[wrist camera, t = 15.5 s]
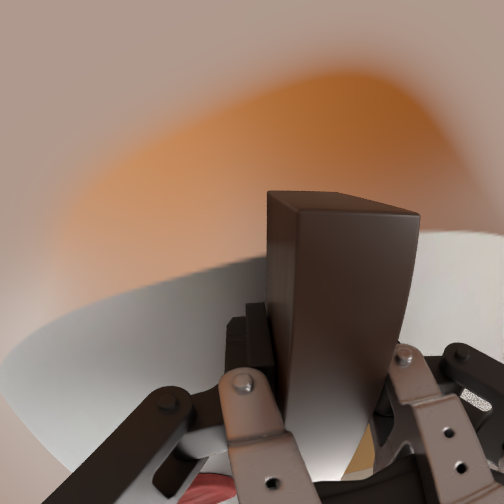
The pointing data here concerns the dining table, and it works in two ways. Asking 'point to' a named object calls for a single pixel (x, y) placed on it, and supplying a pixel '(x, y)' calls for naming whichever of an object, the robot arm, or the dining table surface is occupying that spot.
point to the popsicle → (209, 489)
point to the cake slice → (361, 459)
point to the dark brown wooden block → (334, 314)
